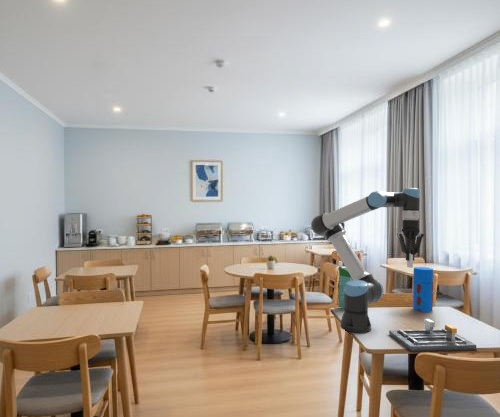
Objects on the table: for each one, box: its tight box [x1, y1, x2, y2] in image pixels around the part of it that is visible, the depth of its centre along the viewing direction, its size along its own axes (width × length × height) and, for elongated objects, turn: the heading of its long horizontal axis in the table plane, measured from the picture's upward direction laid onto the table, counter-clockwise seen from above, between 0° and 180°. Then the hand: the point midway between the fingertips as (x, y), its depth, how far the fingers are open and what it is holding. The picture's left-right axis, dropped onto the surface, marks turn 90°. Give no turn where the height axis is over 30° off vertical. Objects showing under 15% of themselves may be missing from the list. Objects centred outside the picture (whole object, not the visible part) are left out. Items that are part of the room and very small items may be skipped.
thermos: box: [412, 266, 434, 313], centre depth 221 cm, size 11×11×25 cm
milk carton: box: [338, 265, 353, 309], centre depth 222 cm, size 9×9×25 cm
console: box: [388, 328, 477, 352], centre depth 168 cm, size 30×20×3 cm
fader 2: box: [444, 324, 458, 341], centre depth 164 cm, size 2×5×6 cm, turn 5°
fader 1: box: [423, 318, 436, 334], centre depth 173 cm, size 2×5×6 cm, turn 5°
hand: (409, 267), depth 180 cm, fingers closed
